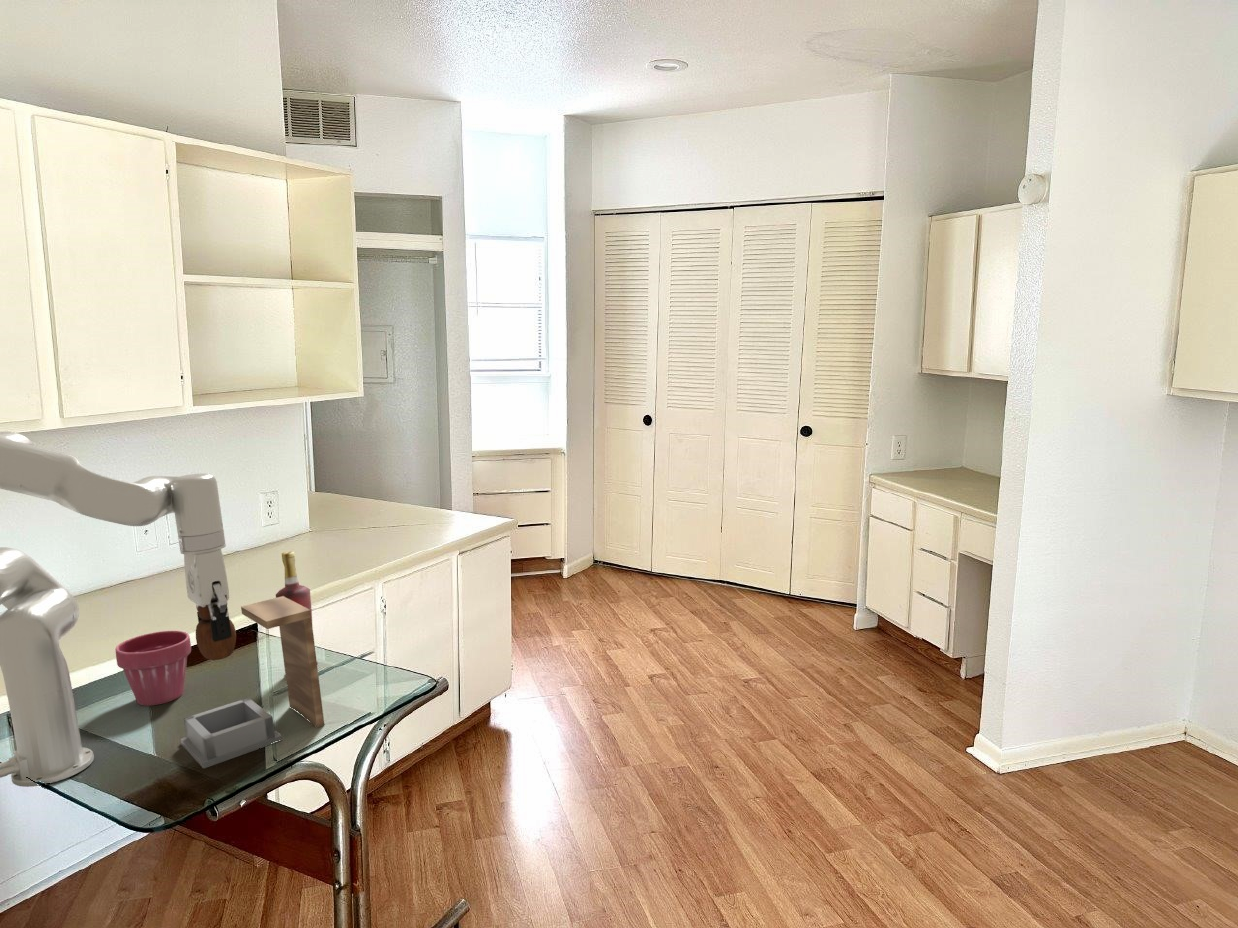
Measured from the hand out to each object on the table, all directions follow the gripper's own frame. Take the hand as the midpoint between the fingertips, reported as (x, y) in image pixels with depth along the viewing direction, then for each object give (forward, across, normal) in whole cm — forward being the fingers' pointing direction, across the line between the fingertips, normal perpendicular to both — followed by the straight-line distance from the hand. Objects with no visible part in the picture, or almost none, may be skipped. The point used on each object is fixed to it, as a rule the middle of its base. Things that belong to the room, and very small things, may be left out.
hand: (215, 633), depth 158 cm
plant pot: (+22, -36, -4) cm, 42 cm away
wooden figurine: (+5, 0, 0) cm, 5 cm away
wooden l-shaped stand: (+22, 0, +12) cm, 25 cm away
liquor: (+22, -25, +24) cm, 40 cm away
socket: (+22, 0, 0) cm, 22 cm away
